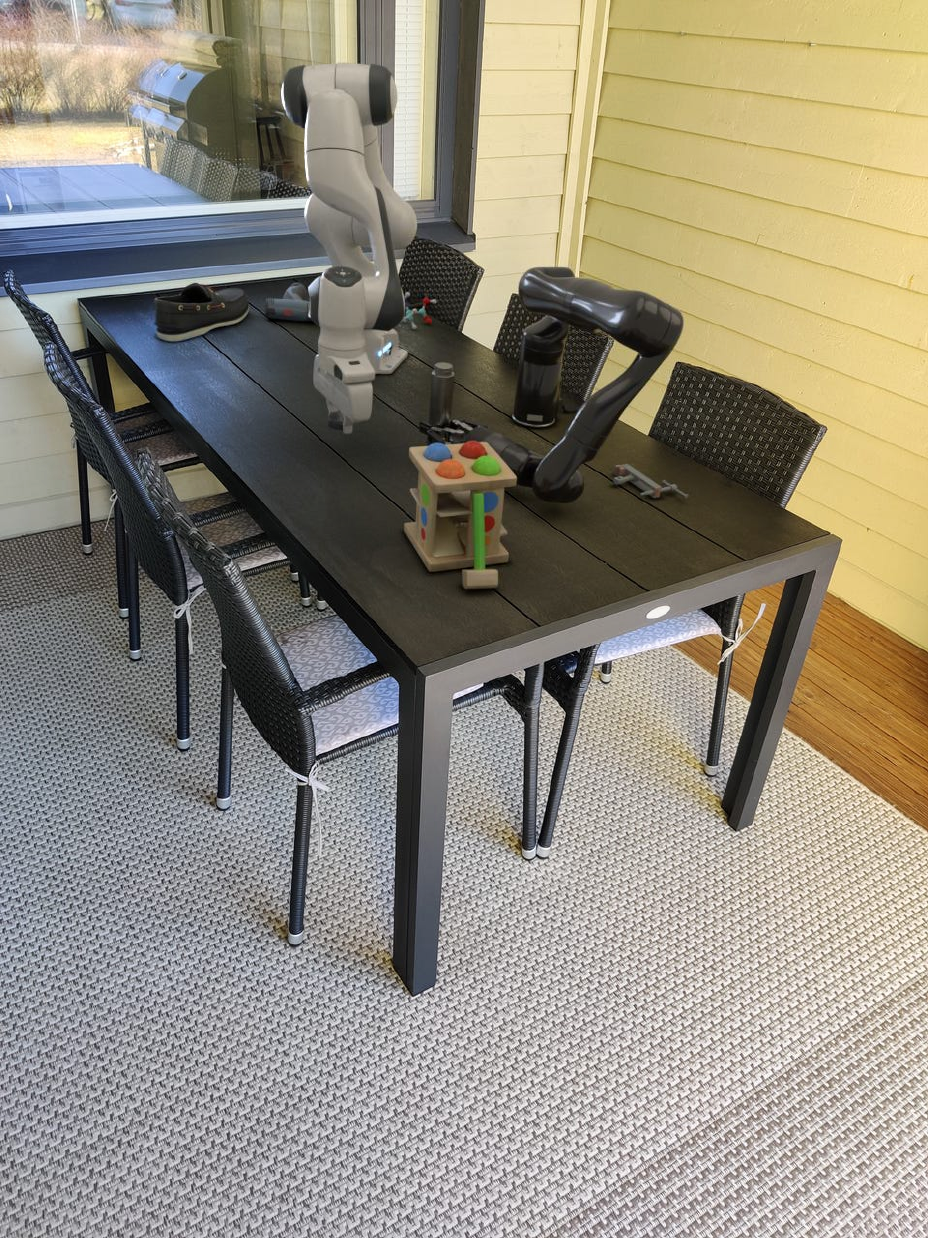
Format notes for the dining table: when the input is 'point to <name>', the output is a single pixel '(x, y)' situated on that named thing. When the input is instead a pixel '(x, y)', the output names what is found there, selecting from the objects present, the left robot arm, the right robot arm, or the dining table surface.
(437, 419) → the dark grey cylindrical bottle
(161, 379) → the dining table surface
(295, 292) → the power drill
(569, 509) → the dining table surface
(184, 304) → the boat shoe
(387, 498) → the dining table surface
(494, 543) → the pounding bench toy
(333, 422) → the lid
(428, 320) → the molecular model
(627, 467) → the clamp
